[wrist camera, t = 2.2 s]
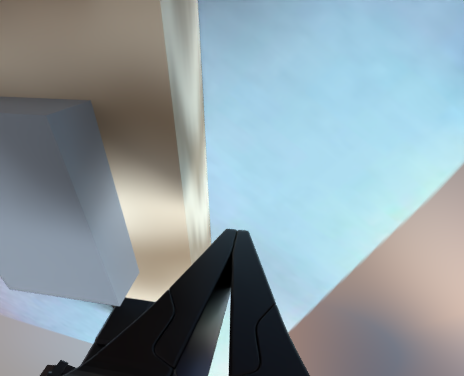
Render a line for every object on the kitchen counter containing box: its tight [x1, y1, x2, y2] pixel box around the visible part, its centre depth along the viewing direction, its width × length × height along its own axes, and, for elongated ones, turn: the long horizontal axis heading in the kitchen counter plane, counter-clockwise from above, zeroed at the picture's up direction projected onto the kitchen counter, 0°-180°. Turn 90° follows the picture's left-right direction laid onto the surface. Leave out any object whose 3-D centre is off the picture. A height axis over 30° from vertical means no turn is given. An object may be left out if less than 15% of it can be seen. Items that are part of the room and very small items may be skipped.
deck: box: [0, 0, 211, 302], centre depth 12 cm, size 20×12×4 cm, turn 0°
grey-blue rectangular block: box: [0, 97, 140, 306], centre depth 11 cm, size 9×6×2 cm, turn 0°
